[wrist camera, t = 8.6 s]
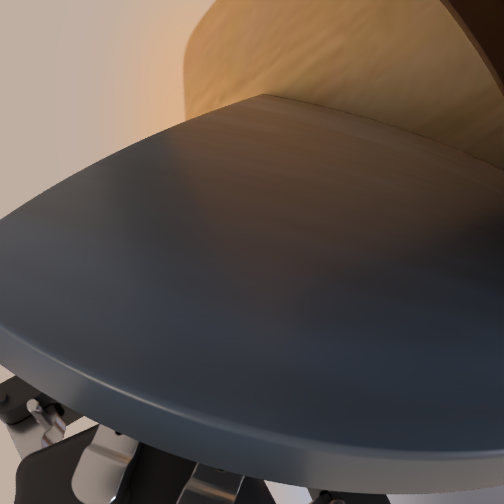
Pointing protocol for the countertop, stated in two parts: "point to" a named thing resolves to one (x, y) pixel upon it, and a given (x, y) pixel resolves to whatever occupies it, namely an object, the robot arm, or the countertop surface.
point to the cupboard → (483, 30)
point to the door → (273, 299)
